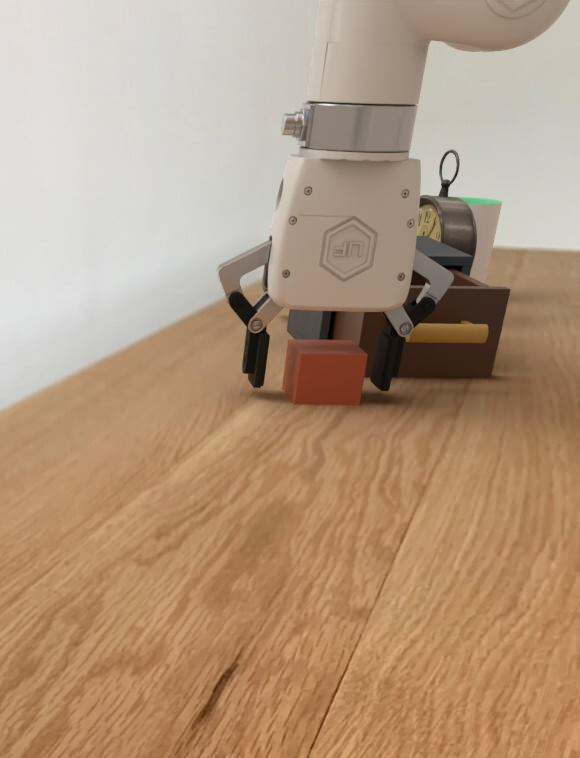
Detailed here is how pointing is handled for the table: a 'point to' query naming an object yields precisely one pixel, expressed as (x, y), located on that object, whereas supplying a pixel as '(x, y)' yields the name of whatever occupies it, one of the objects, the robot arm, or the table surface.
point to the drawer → (438, 331)
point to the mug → (483, 233)
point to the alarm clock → (448, 217)
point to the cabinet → (319, 322)
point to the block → (324, 372)
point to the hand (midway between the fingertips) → (317, 385)
